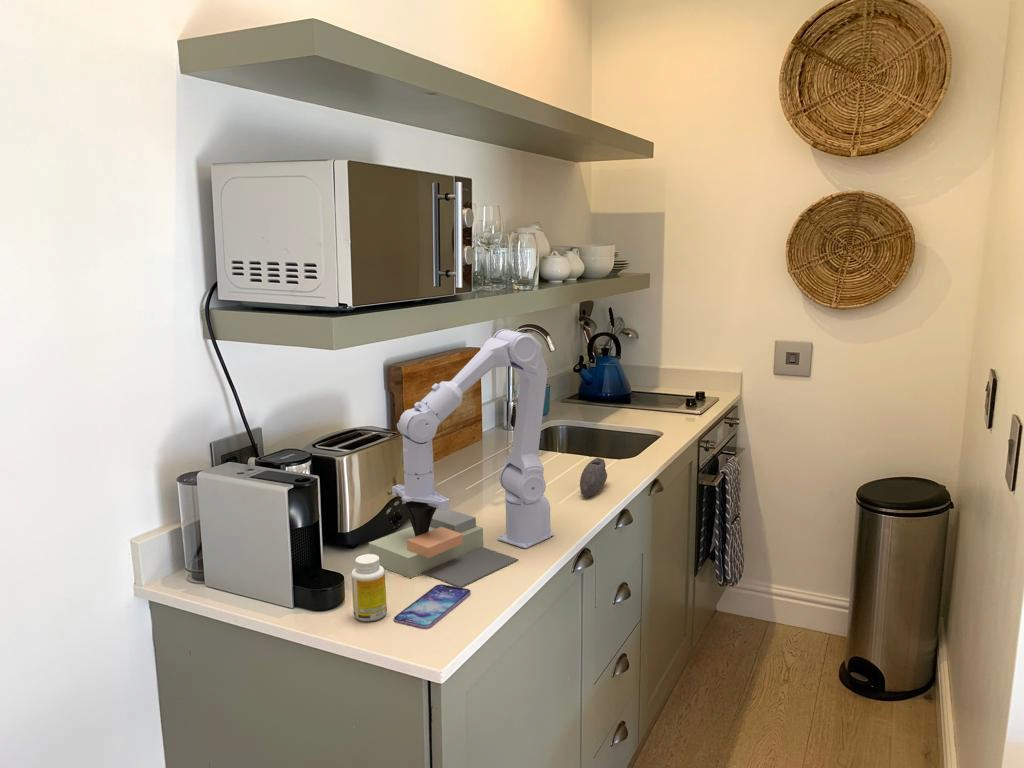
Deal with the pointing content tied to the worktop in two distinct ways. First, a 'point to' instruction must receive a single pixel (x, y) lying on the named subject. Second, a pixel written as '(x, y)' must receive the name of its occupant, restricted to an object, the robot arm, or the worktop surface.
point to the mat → (470, 567)
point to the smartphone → (432, 606)
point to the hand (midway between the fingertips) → (421, 537)
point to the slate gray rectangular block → (453, 521)
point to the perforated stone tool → (593, 477)
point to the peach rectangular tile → (434, 542)
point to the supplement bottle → (368, 588)
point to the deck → (411, 563)
